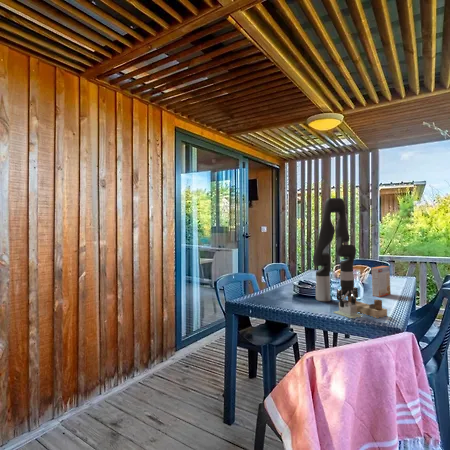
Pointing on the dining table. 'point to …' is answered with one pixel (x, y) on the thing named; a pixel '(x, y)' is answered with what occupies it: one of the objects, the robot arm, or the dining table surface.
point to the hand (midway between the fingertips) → (347, 306)
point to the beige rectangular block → (348, 308)
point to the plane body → (370, 308)
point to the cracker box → (381, 281)
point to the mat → (347, 315)
